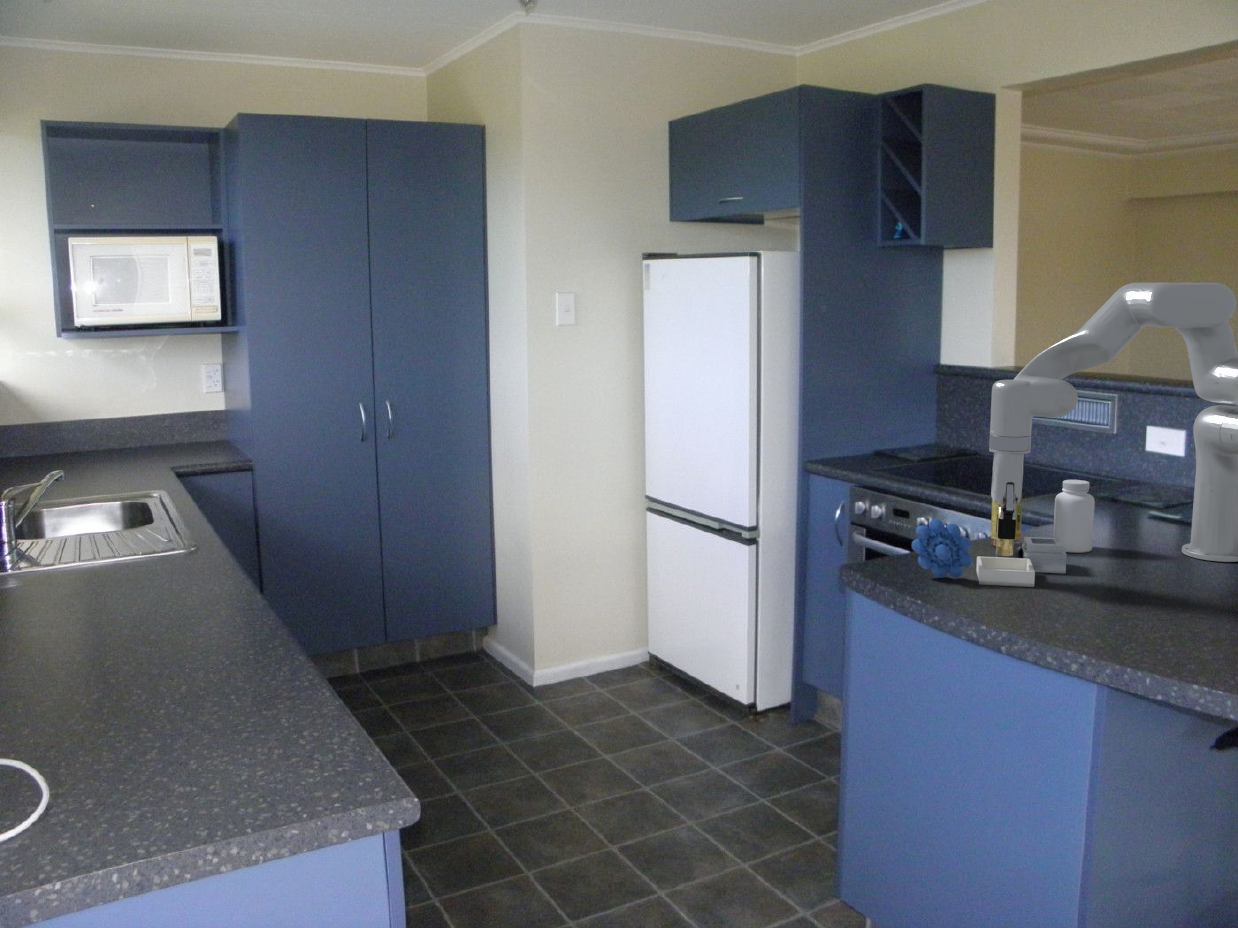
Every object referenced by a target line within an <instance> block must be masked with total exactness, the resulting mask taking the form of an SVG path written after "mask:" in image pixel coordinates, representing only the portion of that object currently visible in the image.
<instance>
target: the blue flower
mask: <svg viewBox="0 0 1238 928" xmlns="http://www.w3.org/2000/svg"><path fill="white" fill-rule="evenodd" d="M961 532H962V531H961V528H960V527H959V525H957V524H955V523H948V524H946V525H945V523H944V522H943V521H942V520H940V519H937V518H934V519H932V520H930V522H929V525H928V526H927V525H919V526H917V527H916V530H915V533H916V536H917V537H918V538H916V539H913V540H912V542H911V549H912V550H913V551H914V552H915V553H916V554H918V557H917V562H918V565H919V566H920V567H921V568H922V569H925V570H929V569H931V572H932V574H933V575H934V576H935V577H936V578H939V579H941V578H942V579H944V578H947V576H948V575H950V577H953V578H955V579H958V578H959V577H961V576H962V575H963V573H964V570H963V568H969V567H970V566H972V565H973V561H974V560H973V558H972V556H971V554H970V553H968V552H969V551H971V549H972V542H971V540H970V539H969V538H968V537H965V536H963V535H962V536H961V534H962V533H961Z"/></svg>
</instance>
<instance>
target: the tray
mask: <svg viewBox="0 0 1238 928" xmlns="http://www.w3.org/2000/svg"><path fill="white" fill-rule="evenodd" d="M975 571H976V574H977V581H978V584H979V585H985V586H987V585H989V586H1007V587H1008V586H1009V587H1024V588H1025V587H1027V588H1030V587H1031V588H1034V587H1035V579H1036V578H1035V577H1036V572H1035V571H1034V569H1033V566H1032V564H1031V561H1030V559H1024V558H1002V557H996V556H980V555H979V556H976V568H975Z"/></svg>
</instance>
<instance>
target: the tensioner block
mask: <svg viewBox="0 0 1238 928" xmlns="http://www.w3.org/2000/svg"><path fill="white" fill-rule="evenodd" d="M995 557H1002V558H1024V559H1030V561H1031V564H1032V566H1033V569H1034V571H1035V573H1044V574H1045V573H1046V574H1060V575H1062V574H1064V575H1065V574H1067V573H1066V571H1067V552H1065V550H1064V549H1063V545H1062V543H1061V541H1060V539H1059V538H1053V537H1042V536H1041V537H1040V536H1039V537H1037V536H1023V542H1022V541H1021V540H1020V541H1017V540H1014V548H1013V555H1012V556H1001V555H997V554H996V553H995Z"/></svg>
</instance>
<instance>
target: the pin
mask: <svg viewBox="0 0 1238 928" xmlns="http://www.w3.org/2000/svg"><path fill="white" fill-rule="evenodd" d="M1013 502H1014V500H1013ZM1000 503H1001V502H997V505H998V518H1000ZM1003 503H1006V500H1003ZM1017 505H1018V504H1016V506H1017ZM1004 507H1006V506H1004ZM1013 548H1014V539H1013V540H1012V539H999V538H998V519H997V540H996V547H995V555H996V554H997V555H1001V556H1012V555H1013Z"/></svg>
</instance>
